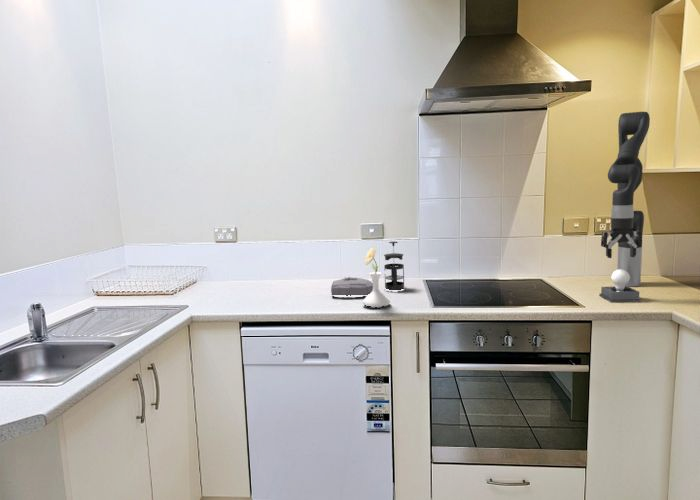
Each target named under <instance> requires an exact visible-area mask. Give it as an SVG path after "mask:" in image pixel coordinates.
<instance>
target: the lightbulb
mask: <svg viewBox="0 0 700 500" xmlns="http://www.w3.org/2000/svg"><path fill="white" fill-rule="evenodd" d="M610 277H611V281H612V282H613V284H614V287H615V288H616V292H623V291H624V288H625V285H626V284H627V283H628V281H629V279H630V276H629V273H628V272H627V271H625V270H623V269H618V270H617V269H615V270H614V271H613V272H612V273H611V276H610Z"/></svg>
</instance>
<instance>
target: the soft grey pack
mask: <svg viewBox="0 0 700 500" xmlns="http://www.w3.org/2000/svg"><path fill="white" fill-rule="evenodd" d="M372 291H373V281H371V280H369V279H365V278H361V277H350V276H349V277H344V278H341V279H337V280H333V282H332V283H331V286H330V293H331V296H332V295H346V296H348V295H350V296H351V295H368V294H370V293H371V292H372Z"/></svg>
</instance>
